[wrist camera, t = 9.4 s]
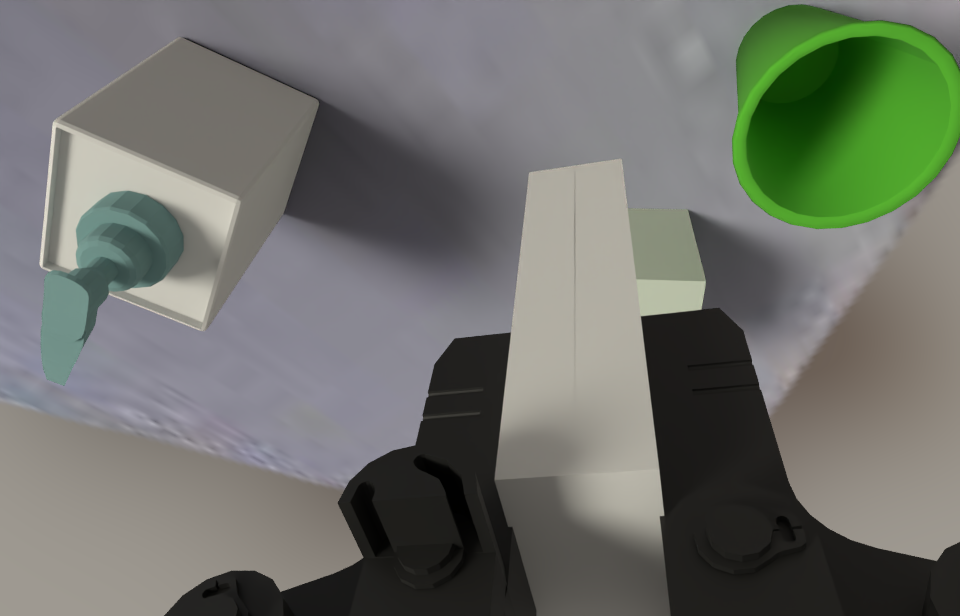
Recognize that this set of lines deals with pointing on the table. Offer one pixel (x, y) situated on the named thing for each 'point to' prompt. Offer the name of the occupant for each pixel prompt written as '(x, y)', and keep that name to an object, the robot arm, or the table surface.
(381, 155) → the table surface
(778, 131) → the cup
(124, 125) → the soap bottle
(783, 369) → the table surface
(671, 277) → the sage block
